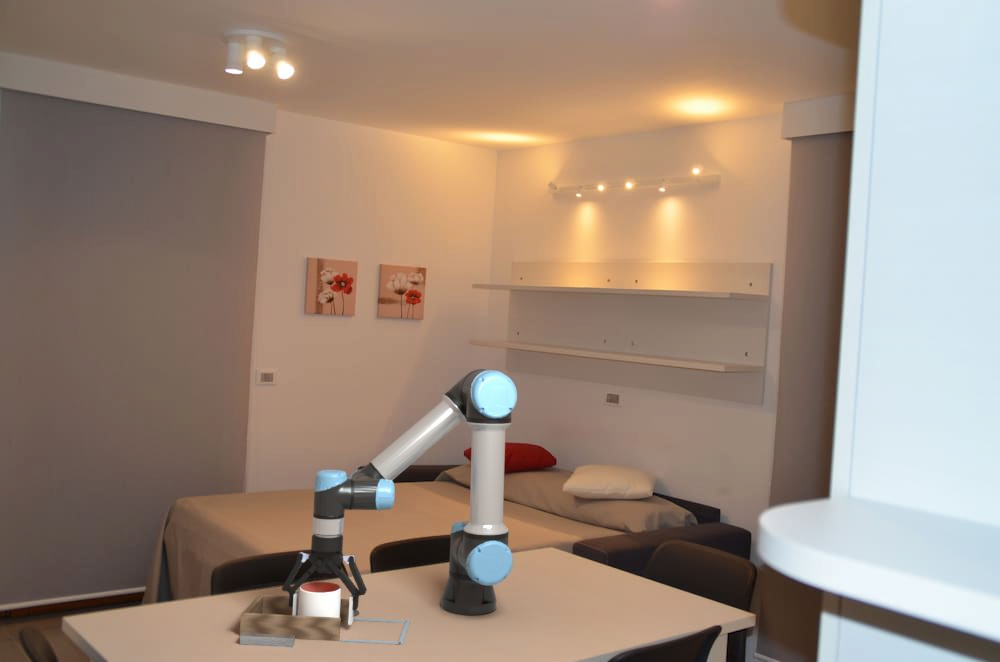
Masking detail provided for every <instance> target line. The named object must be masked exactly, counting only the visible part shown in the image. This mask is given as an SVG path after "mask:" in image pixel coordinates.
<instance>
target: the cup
mask: <svg viewBox="0 0 1000 662" xmlns="http://www.w3.org/2000/svg"><path fill="white" fill-rule="evenodd" d="M298 592H299V605H298V616H315V617H334V618H340V601H341V599H342V587H341V585H339V584H338V583H334V582H329V581H328V582H327V581H315V582H314V581H312V582H306V583H303V584H302V585H301V586H300V587H299V588H298Z"/></svg>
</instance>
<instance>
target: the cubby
mask: <svg viewBox="0 0 1000 662" xmlns="http://www.w3.org/2000/svg"><path fill="white" fill-rule="evenodd" d="M349 600H350V598H341V601H340V618H334V617H315V616H296V615H292V613H293V607H289V595H277V594H276V595H275V594H258V596H257V597H256V598H255V599H254V600H253V601H252V602H251V603H250V604H249V605H248V606H247V607H246V608H245V610H243V612H241V614H240V622H239V623H240V625H239V626H240V627H239V636H240V635H241V634H242V633H243V632H244V631H245V630H254V633H256V634H274V635H293V636H295V640H298V639H299V640H311V641H314V640H315V641H317V640H318V641H332V642H333V641H334V642H339V641H340V640H341V637H340V636H341V625H342V622H341V621H347V622H348V618H349ZM298 605H299V604H298Z"/></svg>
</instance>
